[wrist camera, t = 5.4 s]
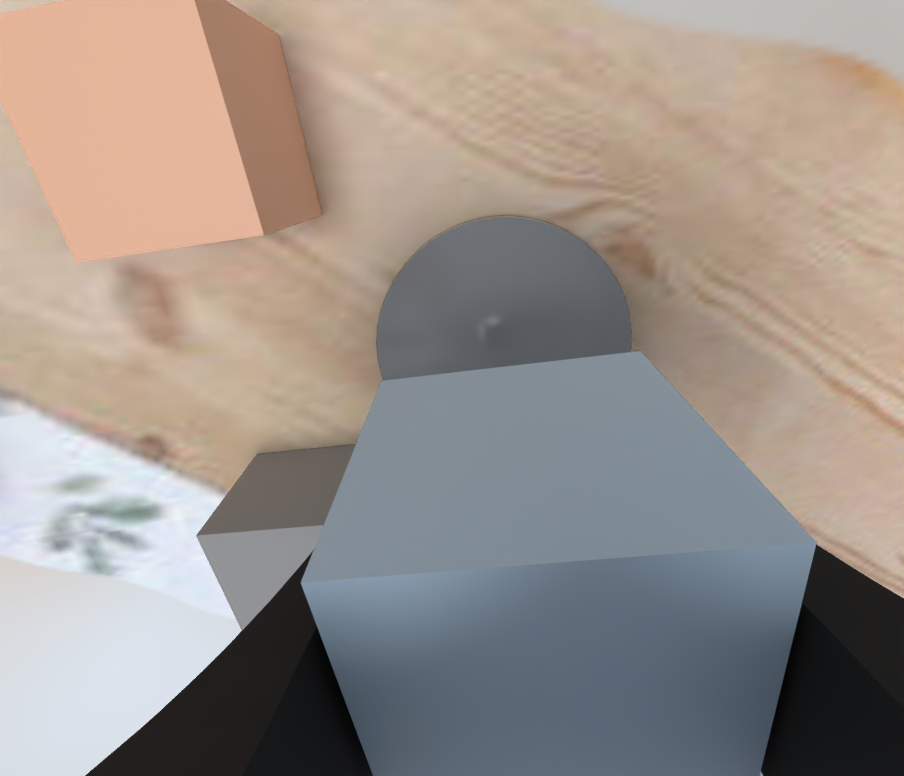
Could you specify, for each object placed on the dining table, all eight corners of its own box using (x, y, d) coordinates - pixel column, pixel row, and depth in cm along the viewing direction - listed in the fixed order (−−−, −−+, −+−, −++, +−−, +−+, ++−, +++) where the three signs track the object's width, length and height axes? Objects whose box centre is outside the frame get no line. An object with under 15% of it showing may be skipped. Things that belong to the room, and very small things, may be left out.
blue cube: (640, 350, 9) (816, 542, 4) (634, 550, 11) (749, 818, 7) (381, 380, 9) (300, 582, 5) (422, 567, 11) (392, 829, 7)
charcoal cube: (370, 441, 20) (340, 523, 15) (393, 532, 22) (372, 628, 17) (257, 452, 20) (196, 535, 16) (290, 541, 22) (244, 636, 18)
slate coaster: (676, 290, 16) (685, 295, 16) (543, 477, 20) (545, 489, 19) (443, 164, 15) (442, 165, 14) (346, 390, 19) (340, 399, 18)
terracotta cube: (280, 36, 14) (187, -25, 9) (323, 214, 16) (264, 235, 12) (122, 65, 14) (-37, 21, 10) (184, 234, 16) (76, 262, 12)
